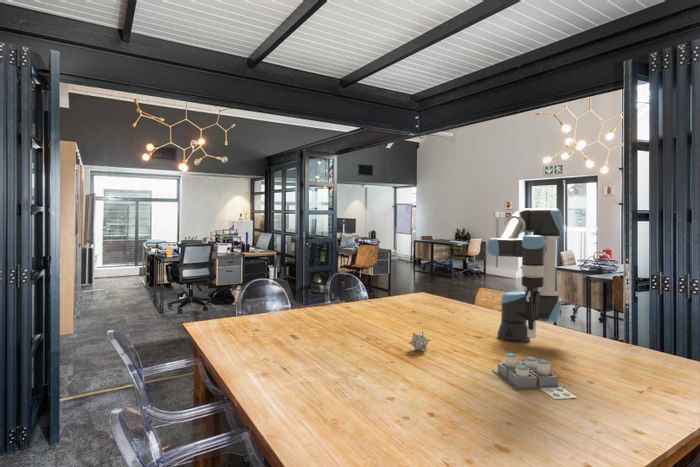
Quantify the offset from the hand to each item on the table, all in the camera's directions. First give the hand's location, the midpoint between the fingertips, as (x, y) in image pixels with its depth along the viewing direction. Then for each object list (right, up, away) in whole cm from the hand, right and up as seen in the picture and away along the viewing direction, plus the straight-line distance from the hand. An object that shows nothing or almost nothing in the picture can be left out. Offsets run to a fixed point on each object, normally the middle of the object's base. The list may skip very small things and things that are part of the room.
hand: (531, 337), depth 153 cm
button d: (0, -13, 0) cm, 13 cm away
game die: (-38, -14, +28) cm, 49 cm away
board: (-4, -15, -4) cm, 16 cm away
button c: (+1, -11, -8) cm, 14 cm away
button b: (-8, -11, -1) cm, 14 cm away
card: (+2, -15, -17) cm, 22 cm away
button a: (-7, -13, -9) cm, 17 cm away
